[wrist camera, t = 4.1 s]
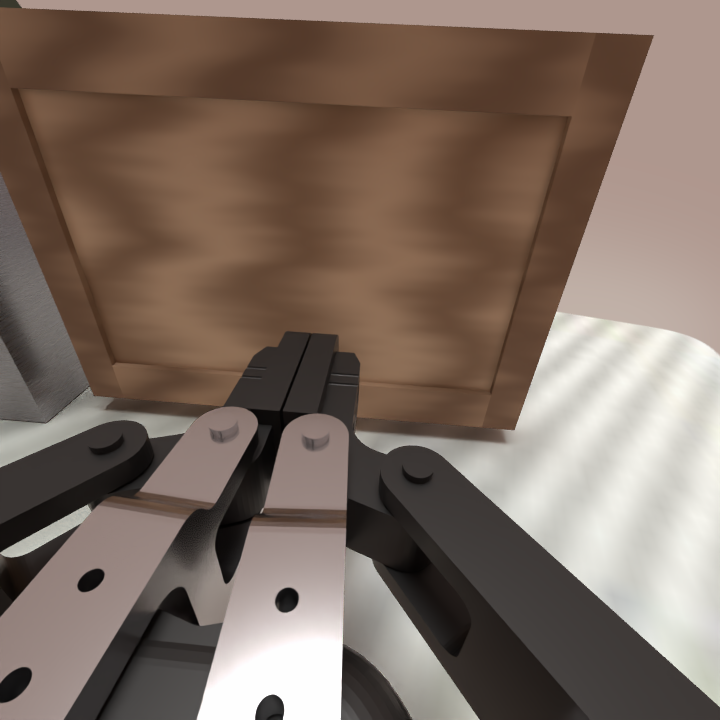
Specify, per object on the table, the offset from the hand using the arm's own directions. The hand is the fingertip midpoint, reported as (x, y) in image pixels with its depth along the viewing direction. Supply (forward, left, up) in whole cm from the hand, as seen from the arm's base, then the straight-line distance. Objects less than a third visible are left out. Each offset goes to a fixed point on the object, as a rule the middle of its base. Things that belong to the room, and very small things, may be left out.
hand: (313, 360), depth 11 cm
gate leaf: (-2, +6, -7) cm, 9 cm away
